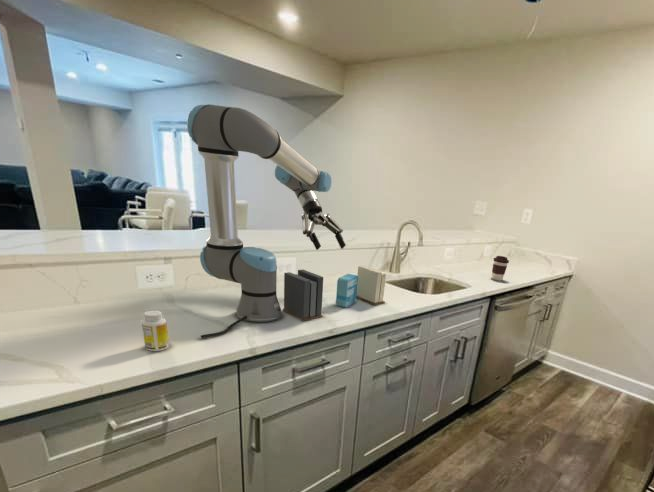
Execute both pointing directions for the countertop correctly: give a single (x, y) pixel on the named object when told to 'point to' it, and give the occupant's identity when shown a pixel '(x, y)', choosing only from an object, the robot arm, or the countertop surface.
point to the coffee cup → (499, 267)
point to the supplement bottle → (155, 331)
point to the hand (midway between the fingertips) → (331, 247)
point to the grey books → (303, 294)
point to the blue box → (346, 290)
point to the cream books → (370, 285)
